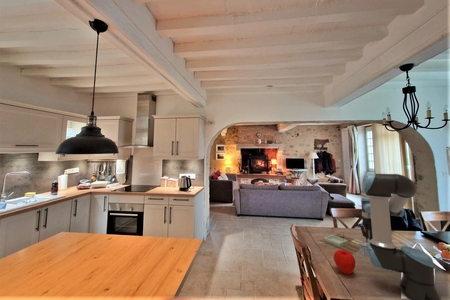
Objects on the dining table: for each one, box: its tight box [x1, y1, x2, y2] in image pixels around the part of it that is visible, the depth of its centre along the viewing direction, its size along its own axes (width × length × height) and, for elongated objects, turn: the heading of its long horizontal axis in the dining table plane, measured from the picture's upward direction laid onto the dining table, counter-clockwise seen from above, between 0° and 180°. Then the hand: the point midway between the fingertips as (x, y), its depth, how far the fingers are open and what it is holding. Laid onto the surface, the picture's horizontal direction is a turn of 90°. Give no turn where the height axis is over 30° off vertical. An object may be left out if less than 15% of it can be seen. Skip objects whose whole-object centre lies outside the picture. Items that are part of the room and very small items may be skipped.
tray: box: [323, 234, 348, 249], centre depth 151 cm, size 12×13×3 cm
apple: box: [333, 249, 356, 275], centre depth 114 cm, size 12×12×13 cm
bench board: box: [320, 231, 360, 255], centre depth 151 cm, size 28×26×6 cm
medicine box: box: [359, 242, 370, 257], centre depth 132 cm, size 8×4×9 cm, turn 92°
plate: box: [351, 238, 367, 247], centre depth 146 cm, size 8×8×2 cm
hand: (369, 247), depth 140 cm, fingers closed
